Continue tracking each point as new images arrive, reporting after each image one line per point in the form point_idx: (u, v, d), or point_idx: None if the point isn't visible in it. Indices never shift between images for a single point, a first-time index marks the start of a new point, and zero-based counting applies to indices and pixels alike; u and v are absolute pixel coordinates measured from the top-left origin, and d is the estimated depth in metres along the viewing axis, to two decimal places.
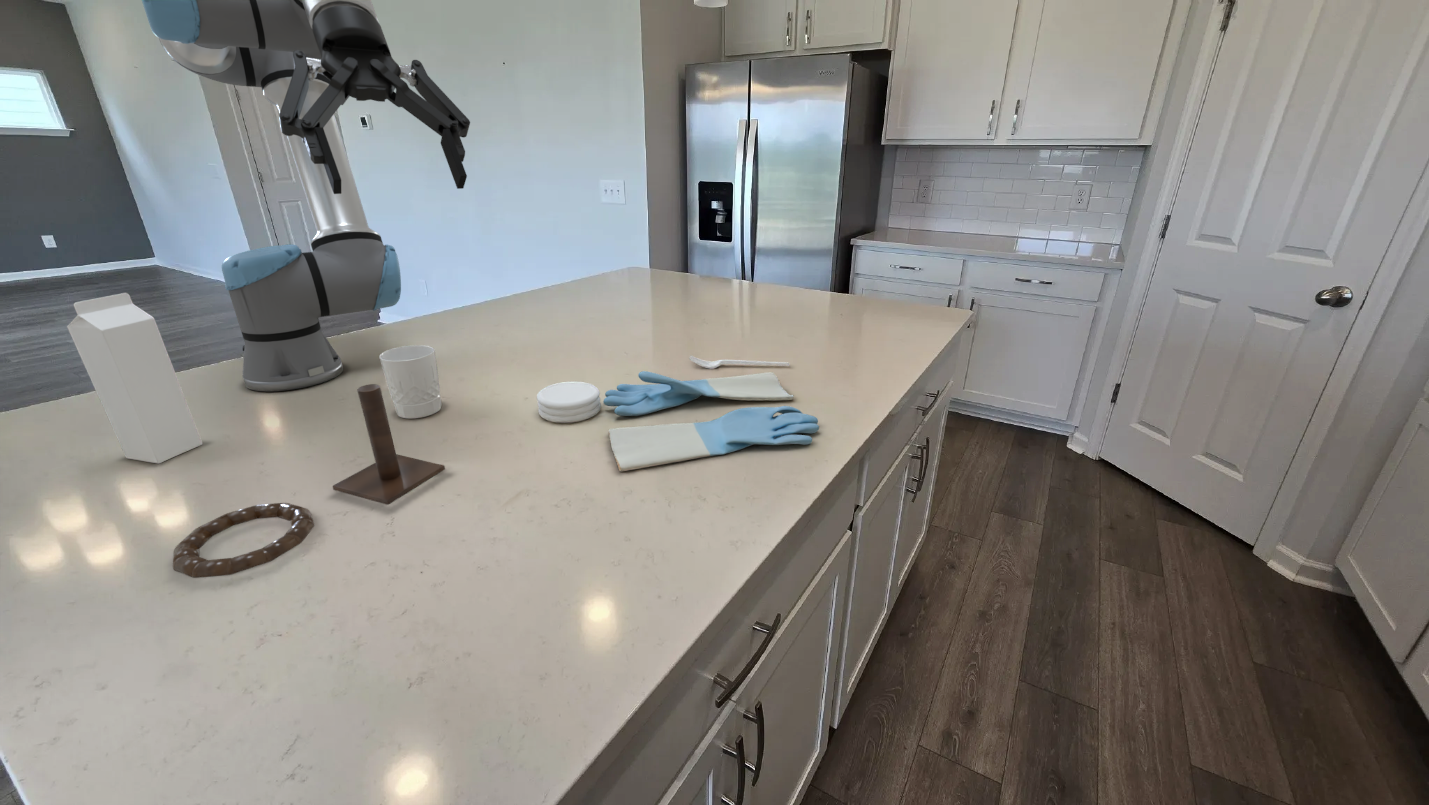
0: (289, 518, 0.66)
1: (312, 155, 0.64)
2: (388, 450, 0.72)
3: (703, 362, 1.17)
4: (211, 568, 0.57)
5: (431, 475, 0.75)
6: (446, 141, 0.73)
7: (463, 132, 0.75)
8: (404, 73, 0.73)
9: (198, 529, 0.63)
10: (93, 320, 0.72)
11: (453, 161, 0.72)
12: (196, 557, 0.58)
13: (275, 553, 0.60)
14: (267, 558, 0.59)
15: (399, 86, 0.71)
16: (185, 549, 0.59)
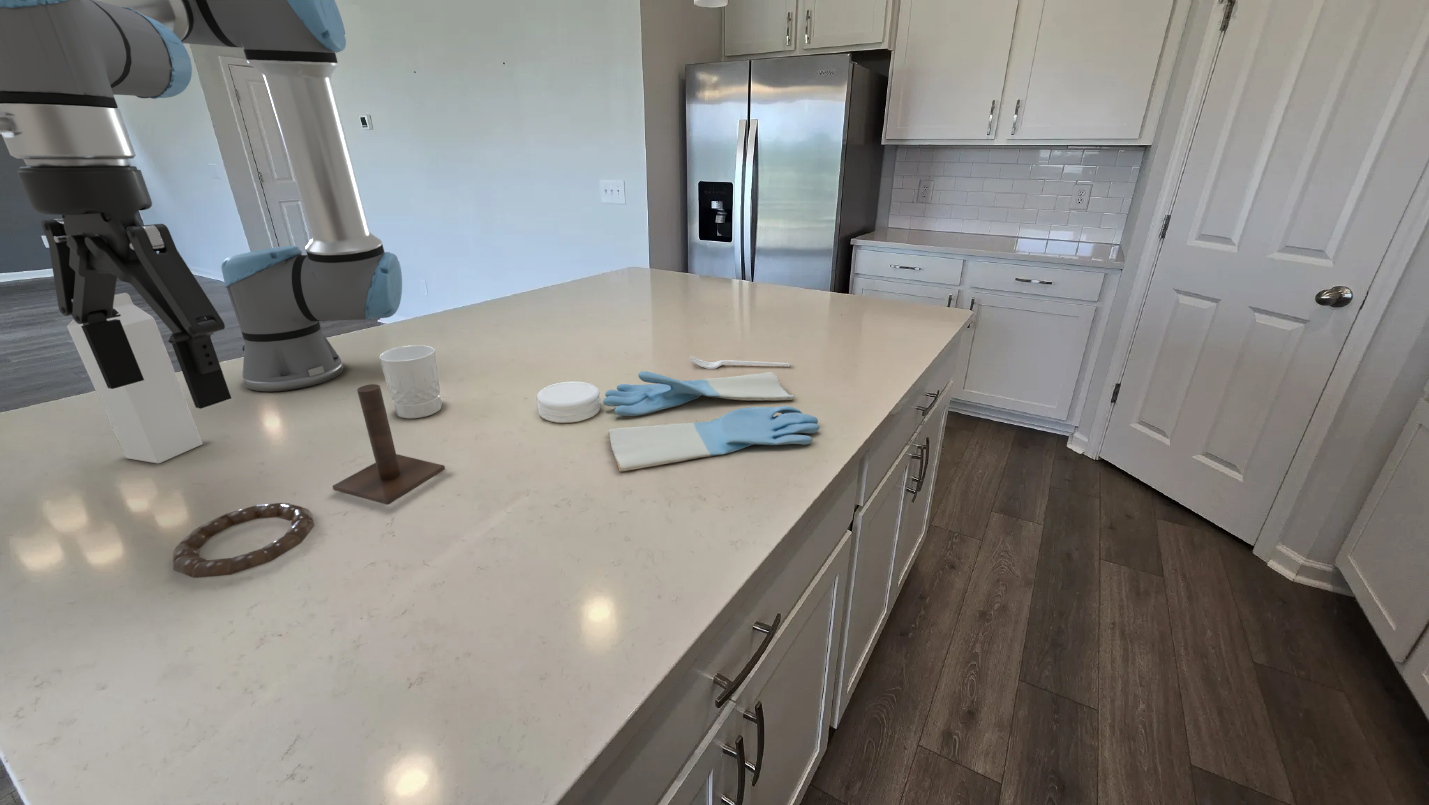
0: (289, 518, 0.66)
1: None
2: (388, 450, 0.72)
3: (703, 363, 1.17)
4: (211, 568, 0.57)
5: (431, 475, 0.75)
6: None
7: (206, 334, 0.52)
8: None
9: (198, 529, 0.63)
10: None
11: None
12: (196, 557, 0.58)
13: (275, 553, 0.60)
14: (267, 558, 0.59)
15: (119, 277, 0.51)
16: (185, 549, 0.59)
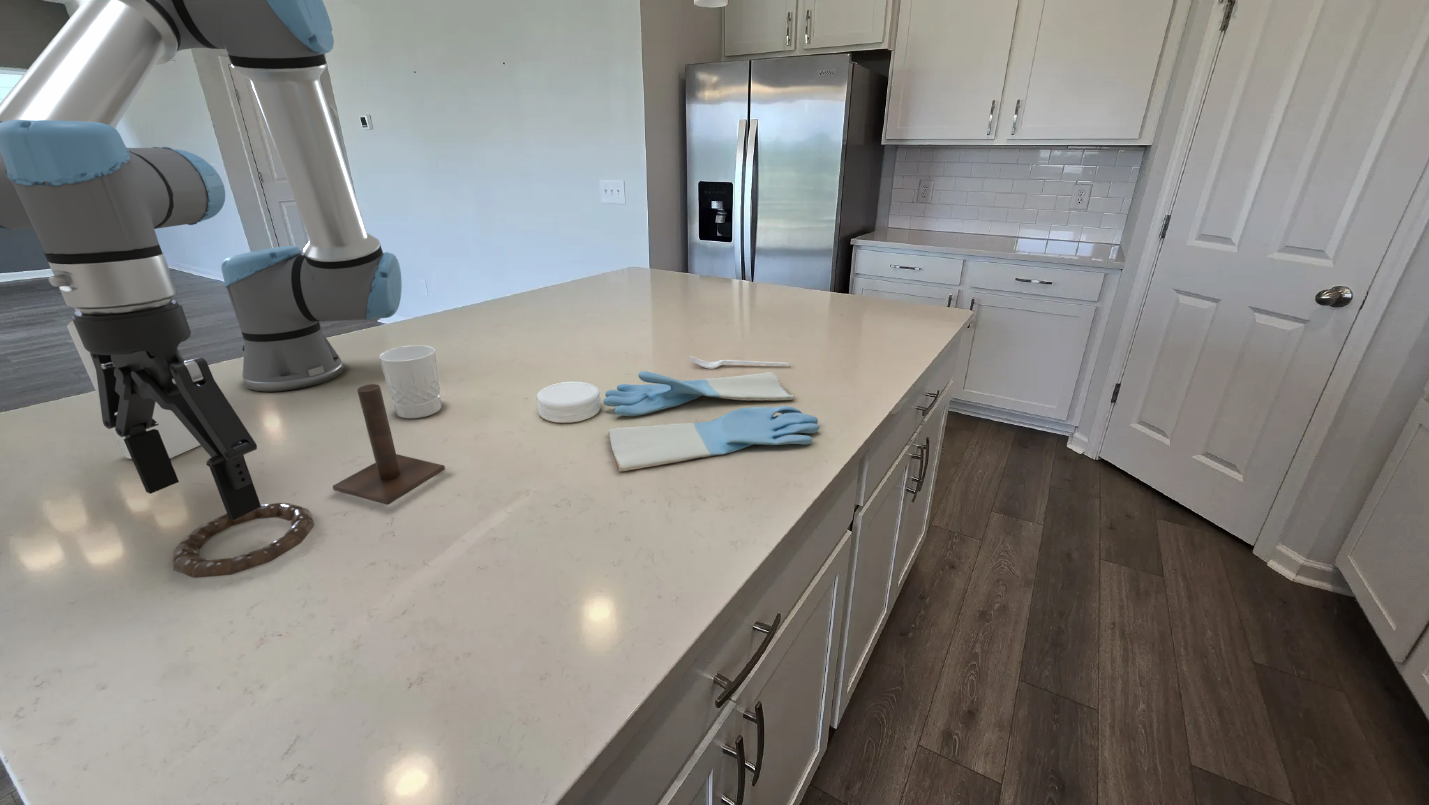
0: (289, 518, 0.66)
1: None
2: (388, 450, 0.72)
3: (703, 362, 1.17)
4: (211, 568, 0.57)
5: (431, 475, 0.75)
6: None
7: (240, 455, 0.57)
8: None
9: (198, 529, 0.63)
10: None
11: None
12: (196, 557, 0.58)
13: (275, 553, 0.60)
14: (267, 558, 0.59)
15: (161, 406, 0.55)
16: (185, 549, 0.59)
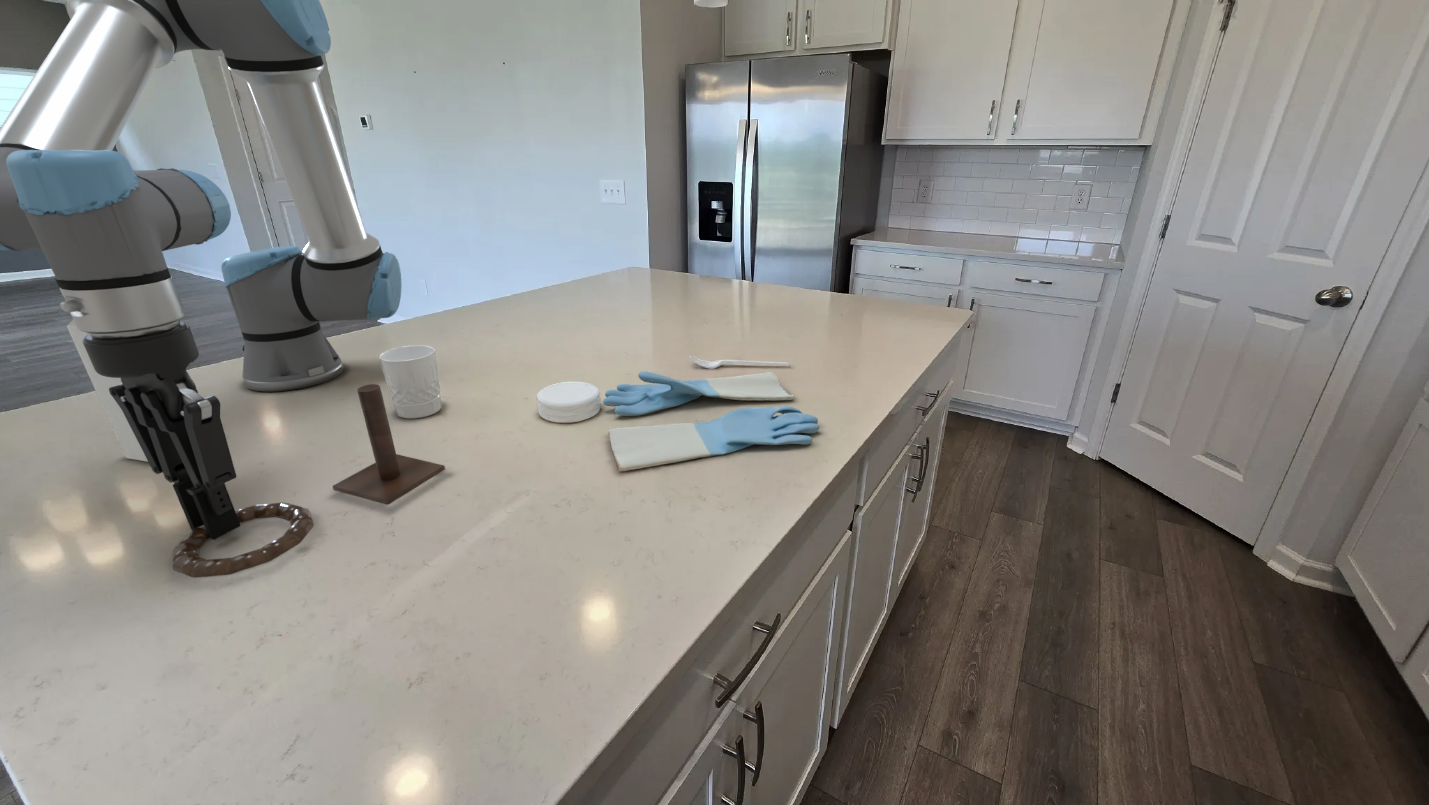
0: (288, 518, 0.66)
1: None
2: (388, 450, 0.72)
3: (703, 362, 1.17)
4: (210, 568, 0.57)
5: (431, 475, 0.75)
6: None
7: None
8: (185, 402, 0.56)
9: (197, 529, 0.63)
10: None
11: None
12: (195, 557, 0.58)
13: (275, 553, 0.60)
14: (266, 558, 0.59)
15: (160, 428, 0.57)
16: (185, 549, 0.59)
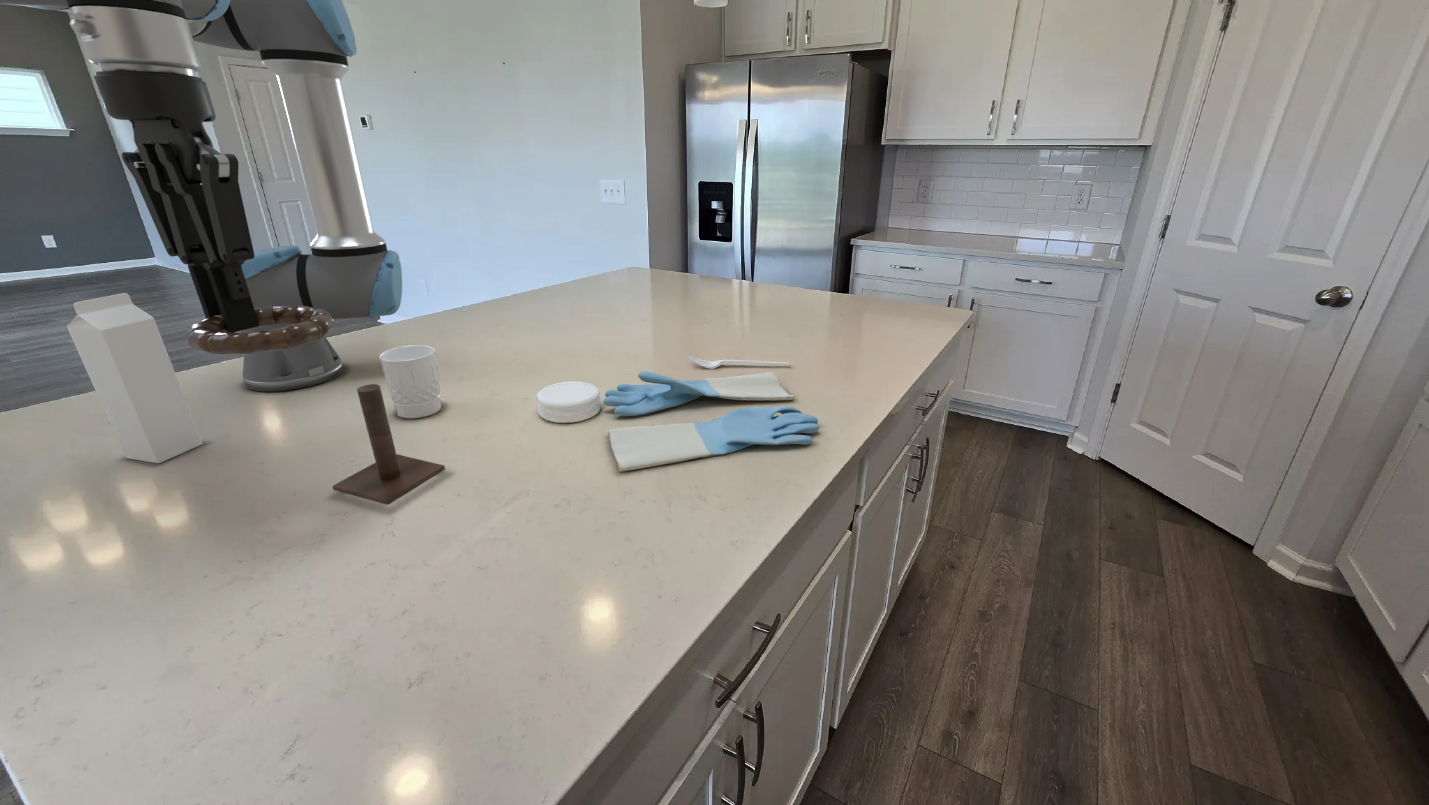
0: (308, 317, 0.63)
1: None
2: (388, 450, 0.72)
3: (703, 362, 1.17)
4: (228, 338, 0.54)
5: (431, 475, 0.75)
6: None
7: (238, 262, 0.57)
8: None
9: (213, 316, 0.59)
10: (93, 320, 0.72)
11: None
12: (212, 331, 0.55)
13: (295, 334, 0.57)
14: (286, 336, 0.56)
15: (175, 189, 0.54)
16: (201, 327, 0.56)
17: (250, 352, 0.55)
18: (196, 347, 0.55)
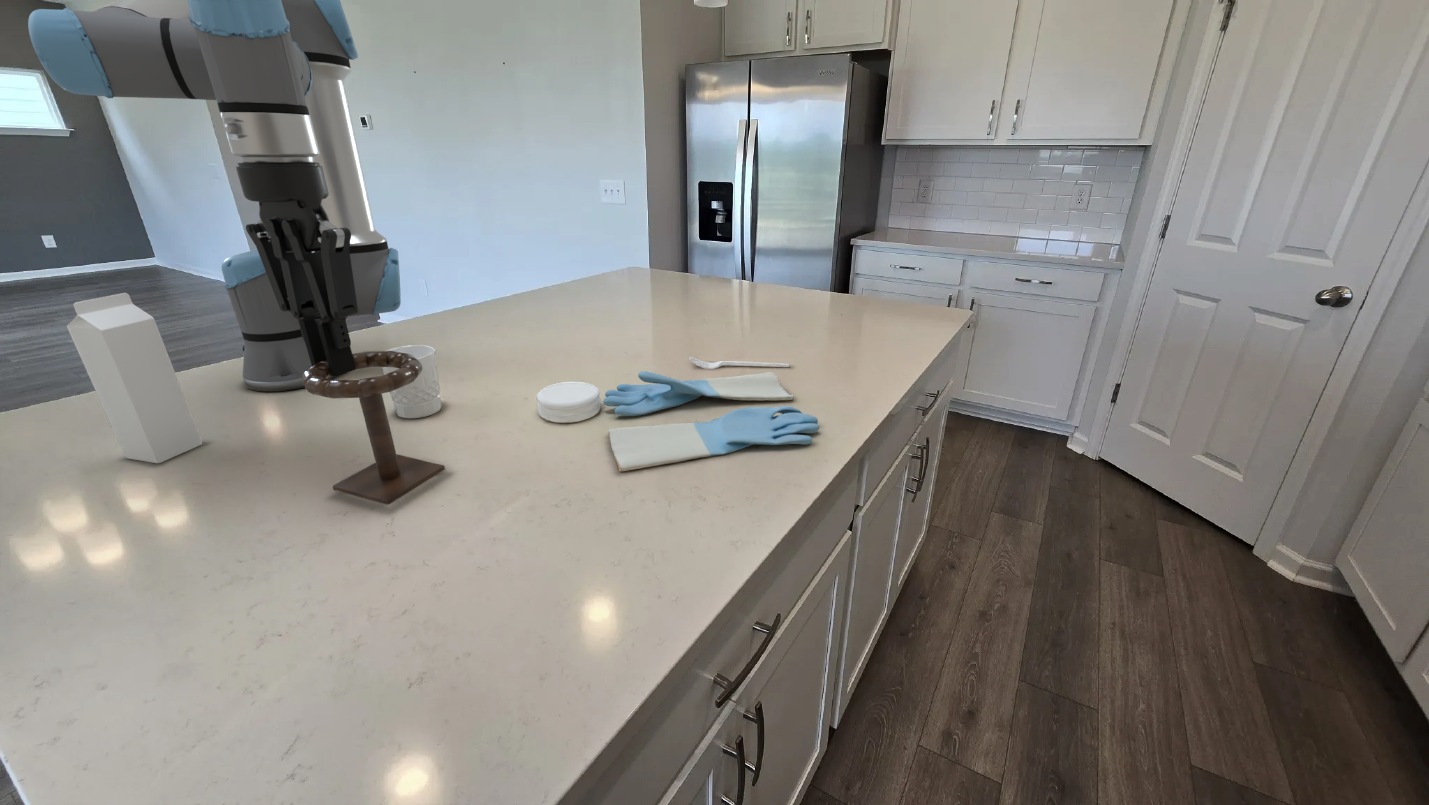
0: (398, 361, 0.72)
1: None
2: (388, 450, 0.72)
3: (703, 363, 1.17)
4: (342, 385, 0.63)
5: (431, 475, 0.75)
6: None
7: (344, 317, 0.66)
8: (321, 231, 0.62)
9: (320, 363, 0.68)
10: (93, 320, 0.72)
11: None
12: (326, 378, 0.64)
13: (396, 379, 0.66)
14: (389, 382, 0.65)
15: (296, 257, 0.63)
16: (314, 374, 0.65)
17: (360, 396, 0.64)
18: (313, 392, 0.64)
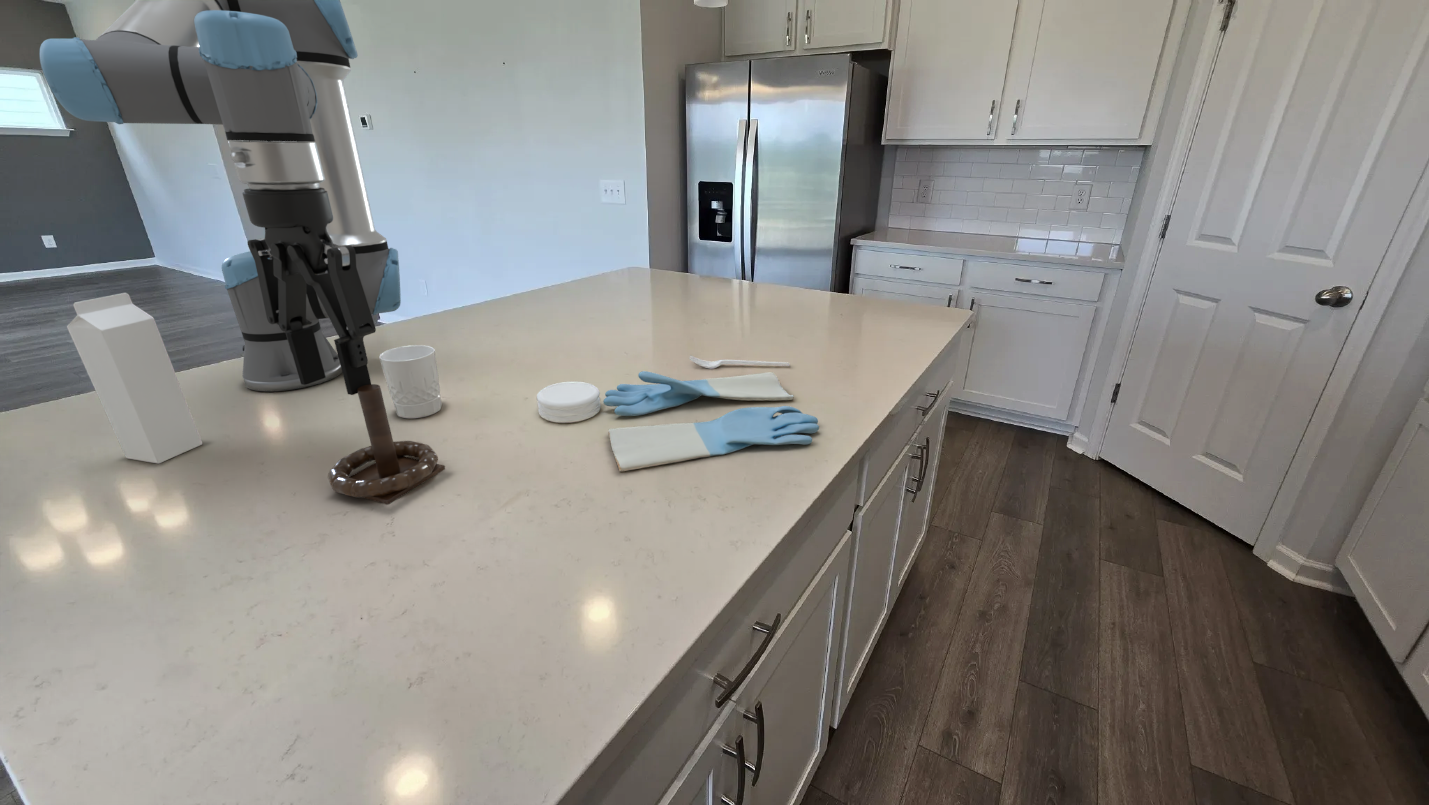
0: (415, 452, 0.77)
1: None
2: (388, 450, 0.72)
3: (703, 362, 1.17)
4: (366, 486, 0.69)
5: (431, 475, 0.75)
6: None
7: (362, 336, 0.66)
8: (326, 253, 0.63)
9: (343, 459, 0.74)
10: (93, 320, 0.72)
11: None
12: (351, 478, 0.70)
13: (414, 476, 0.71)
14: (409, 480, 0.71)
15: (306, 281, 0.64)
16: (339, 473, 0.71)
17: (382, 495, 0.69)
18: (339, 492, 0.69)
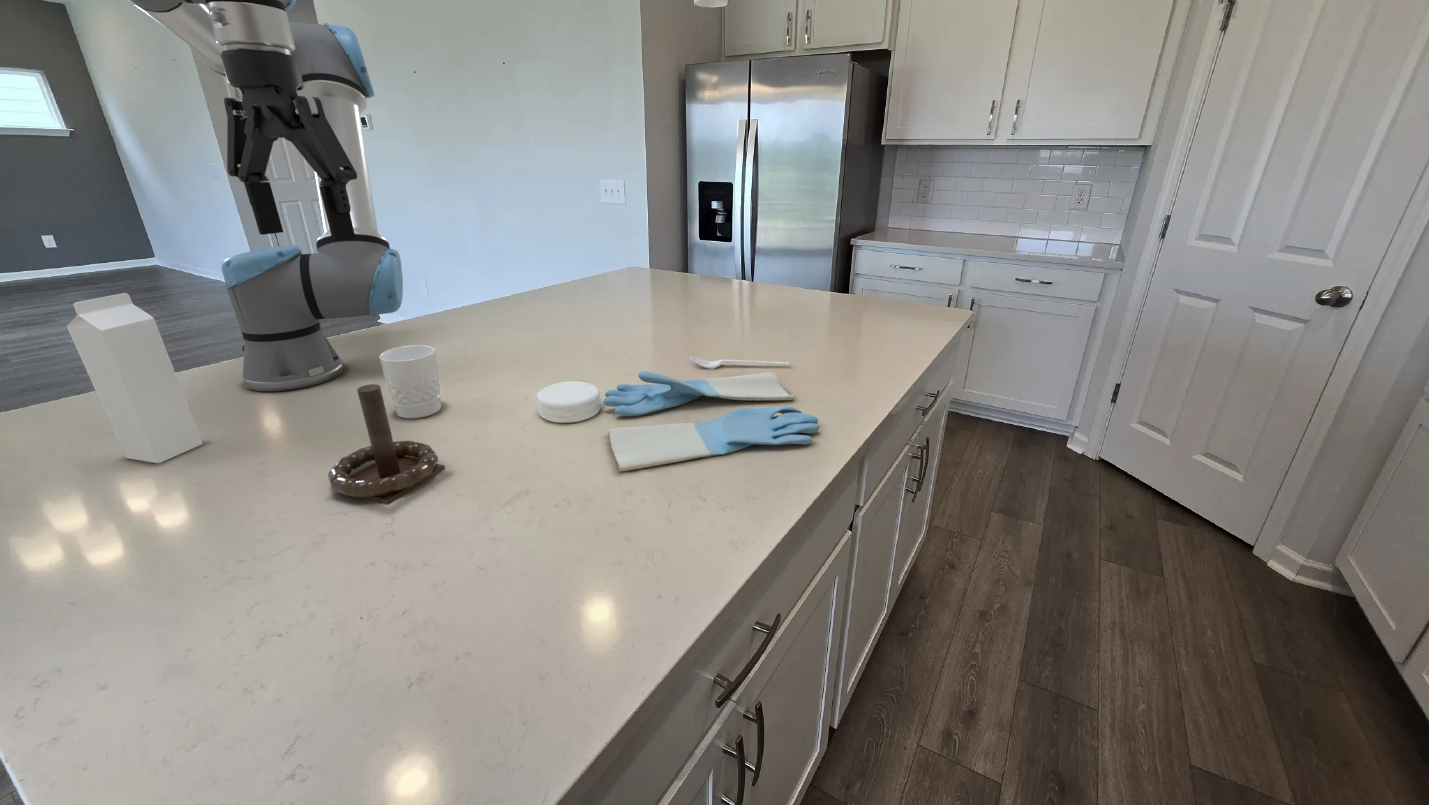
0: (415, 452, 0.77)
1: None
2: (388, 450, 0.72)
3: (703, 362, 1.17)
4: (366, 486, 0.69)
5: (431, 475, 0.75)
6: None
7: (345, 181, 0.72)
8: None
9: (343, 459, 0.74)
10: (93, 320, 0.72)
11: None
12: (351, 478, 0.70)
13: (414, 476, 0.71)
14: (409, 480, 0.71)
15: (284, 136, 0.70)
16: (339, 473, 0.71)
17: (382, 495, 0.69)
18: (339, 492, 0.69)
